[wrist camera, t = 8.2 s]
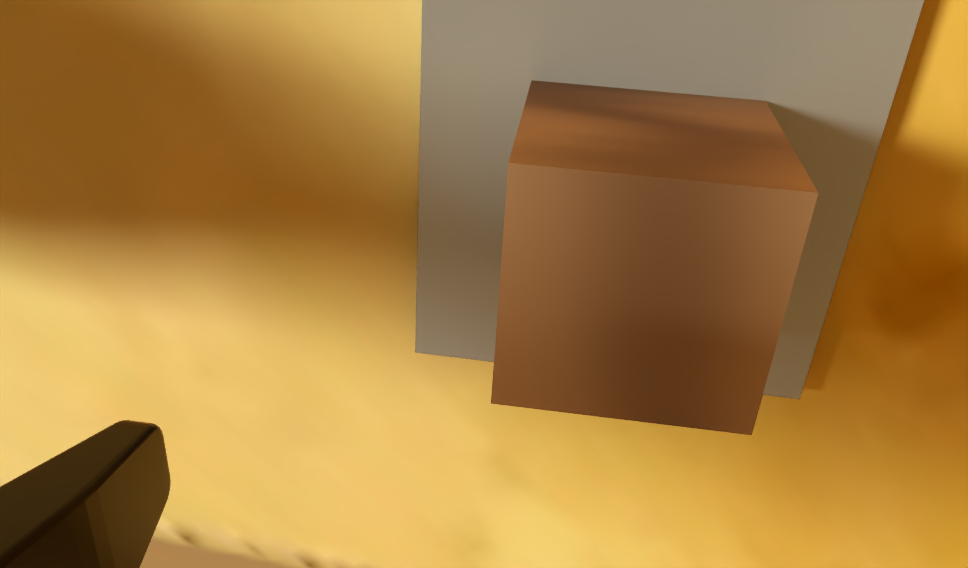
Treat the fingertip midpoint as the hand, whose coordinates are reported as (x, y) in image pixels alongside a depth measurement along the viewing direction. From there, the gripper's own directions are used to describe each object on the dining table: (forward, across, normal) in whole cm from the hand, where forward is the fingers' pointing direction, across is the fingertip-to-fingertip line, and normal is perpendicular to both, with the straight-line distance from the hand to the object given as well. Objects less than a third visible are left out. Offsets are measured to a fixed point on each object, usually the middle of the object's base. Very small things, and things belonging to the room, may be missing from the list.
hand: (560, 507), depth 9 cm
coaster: (+12, -1, +1) cm, 12 cm away
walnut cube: (+11, -1, +1) cm, 11 cm away
